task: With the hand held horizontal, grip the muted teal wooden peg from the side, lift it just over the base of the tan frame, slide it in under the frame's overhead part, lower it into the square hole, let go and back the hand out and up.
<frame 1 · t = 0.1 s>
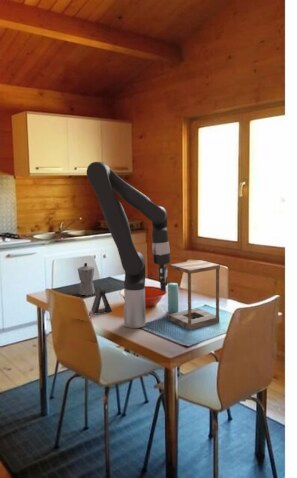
hand: (164, 288, 192), 17 cm above the table, tool pointing down, fingers open, 8 cm apart
phone stand: (101, 311, 217), on the table
tan frame: (193, 320, 200), on the table
peg: (173, 311, 213), on the table
coffeepot: (86, 293, 249), on the table
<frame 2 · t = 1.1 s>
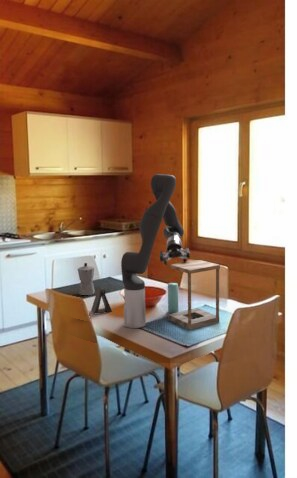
hand: (175, 262, 199), 27 cm above the table, tool tilted 75°, fingers open, 8 cm apart
nothing on the table moved.
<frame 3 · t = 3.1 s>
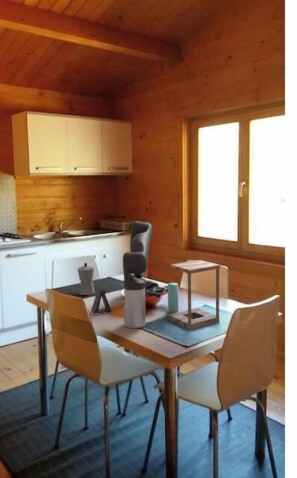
hand: (166, 294, 217), 8 cm above the table, tool horizontal, fingers open, 8 cm apart
nothing on the table moved.
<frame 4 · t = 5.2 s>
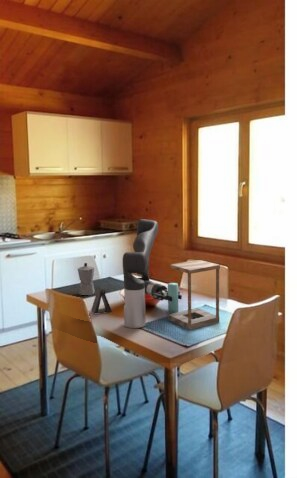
hand: (176, 298, 210), 8 cm above the table, tool horizontal, fingers closed on peg, 5 cm apart
peg: (173, 311, 213), on the table, touching gripper
everything else where it was.
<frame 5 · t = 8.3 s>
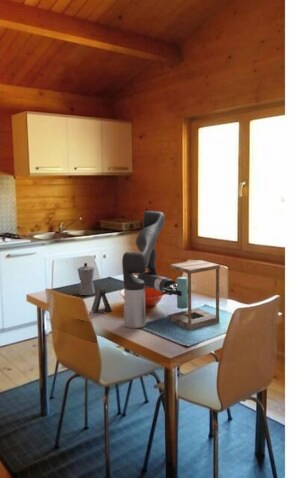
hand: (185, 292, 203), 12 cm above the table, tool horizontal, fingers closed on peg, 5 cm apart
peg: (182, 307, 206), point 4 cm above the table, touching gripper
everything else where it was.
when the fingers open (9 cm above the table, at t = 11.7 s): peg drops 1 cm, resting in tan frame.
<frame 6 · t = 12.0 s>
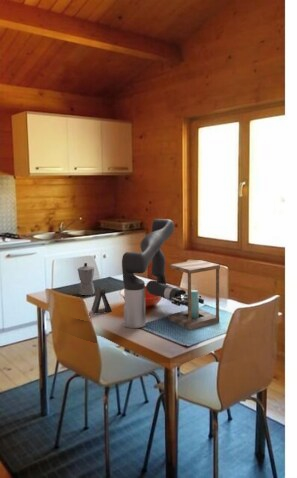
hand: (196, 303, 197), 9 cm above the table, tool horizontal, fingers open, 7 cm apart
peg: (193, 320, 200), resting in tan frame
everything else where it was.
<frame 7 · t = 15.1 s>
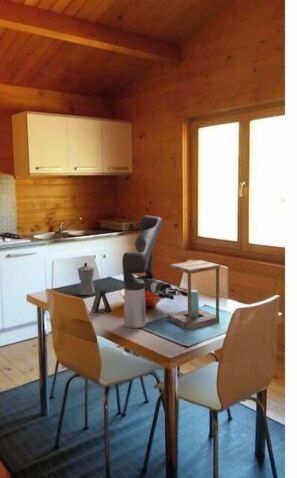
hand: (180, 296, 207), 9 cm above the table, tool horizontal, fingers open, 8 cm apart
nothing on the table moved.
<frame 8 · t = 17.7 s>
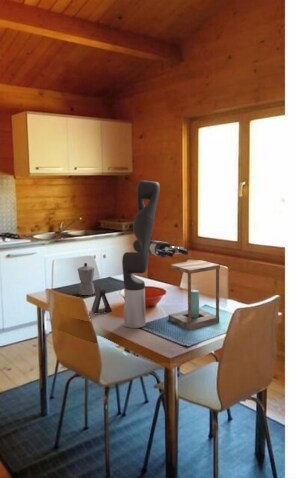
hand: (179, 253, 204), 30 cm above the table, tool horizontal, fingers open, 8 cm apart
nothing on the table moved.
at the end: peg 0.1 cm off-centre on the tan frame, point 0.0 cm above the tan frame's base; peg tilted 1°; the gripper is holding nothing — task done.
